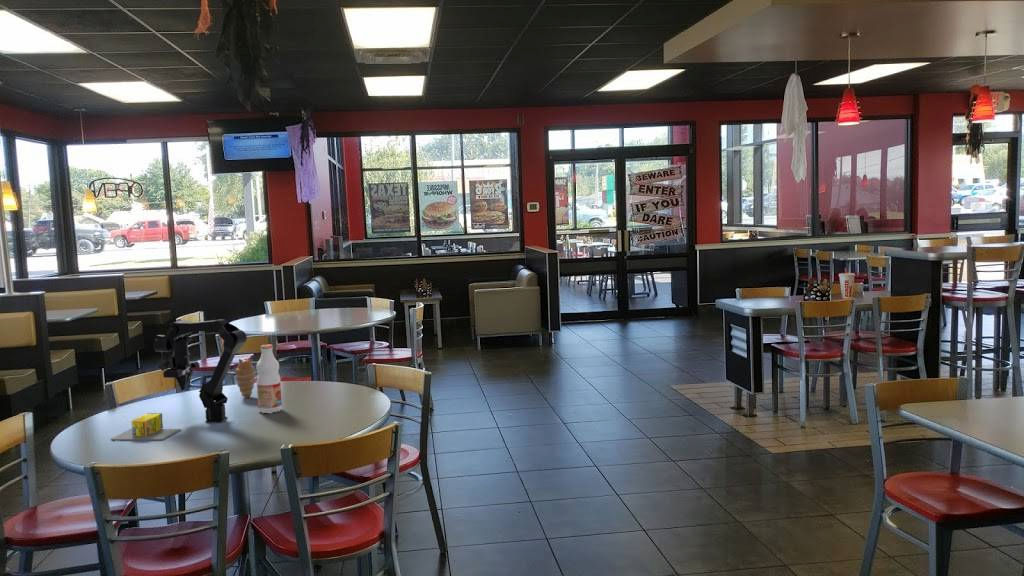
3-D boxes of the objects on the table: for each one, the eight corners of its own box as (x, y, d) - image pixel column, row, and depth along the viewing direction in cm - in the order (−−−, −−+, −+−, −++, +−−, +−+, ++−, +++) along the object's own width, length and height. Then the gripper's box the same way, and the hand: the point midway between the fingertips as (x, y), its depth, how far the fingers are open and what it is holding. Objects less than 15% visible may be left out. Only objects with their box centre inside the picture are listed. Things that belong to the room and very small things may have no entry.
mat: (180, 430, 293) (180, 428, 293) (163, 440, 280) (163, 439, 280) (130, 430, 294) (130, 428, 294) (110, 440, 281) (110, 439, 281)
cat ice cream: (252, 394, 348) (250, 355, 347) (260, 397, 343) (257, 358, 341) (233, 398, 342) (231, 358, 341) (241, 401, 337) (238, 361, 335)
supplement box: (163, 427, 294) (147, 436, 284) (149, 427, 295) (132, 436, 284) (162, 412, 294) (146, 421, 283) (148, 412, 294) (130, 420, 284)
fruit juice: (257, 410, 321) (253, 344, 318) (280, 407, 325) (276, 342, 322) (260, 415, 312) (256, 348, 309) (283, 412, 316) (280, 345, 313)
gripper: (173, 348, 315) (175, 385, 317) (148, 356, 297) (151, 396, 299) (199, 347, 315) (201, 384, 316) (176, 356, 296) (179, 395, 298)
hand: (183, 390), depth 307 cm, fingers closed
